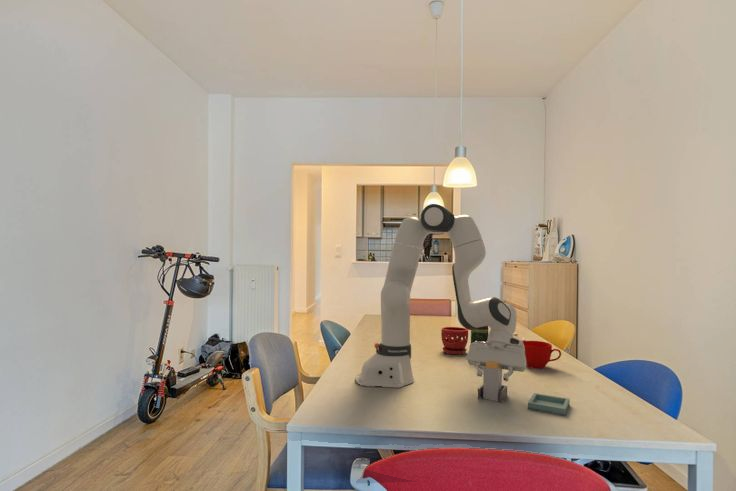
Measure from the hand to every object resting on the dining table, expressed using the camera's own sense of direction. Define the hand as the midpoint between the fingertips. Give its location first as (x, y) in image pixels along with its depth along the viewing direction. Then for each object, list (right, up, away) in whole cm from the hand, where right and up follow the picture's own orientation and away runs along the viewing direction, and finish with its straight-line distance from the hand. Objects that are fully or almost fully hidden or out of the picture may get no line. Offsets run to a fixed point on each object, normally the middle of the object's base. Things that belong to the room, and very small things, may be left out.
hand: (492, 377), depth 150 cm
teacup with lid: (+28, -8, +55) cm, 62 cm away
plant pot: (0, -8, +67) cm, 67 cm away
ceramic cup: (+32, -8, +39) cm, 51 cm away
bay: (0, -7, 0) cm, 7 cm away
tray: (+16, -7, -9) cm, 19 cm away
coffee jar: (+8, -8, +50) cm, 51 cm away
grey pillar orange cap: (0, -7, 0) cm, 7 cm away
